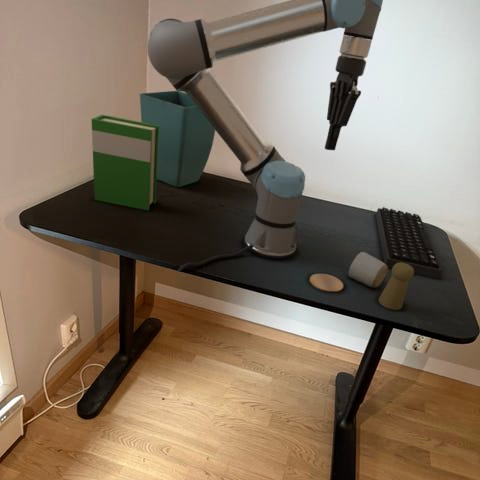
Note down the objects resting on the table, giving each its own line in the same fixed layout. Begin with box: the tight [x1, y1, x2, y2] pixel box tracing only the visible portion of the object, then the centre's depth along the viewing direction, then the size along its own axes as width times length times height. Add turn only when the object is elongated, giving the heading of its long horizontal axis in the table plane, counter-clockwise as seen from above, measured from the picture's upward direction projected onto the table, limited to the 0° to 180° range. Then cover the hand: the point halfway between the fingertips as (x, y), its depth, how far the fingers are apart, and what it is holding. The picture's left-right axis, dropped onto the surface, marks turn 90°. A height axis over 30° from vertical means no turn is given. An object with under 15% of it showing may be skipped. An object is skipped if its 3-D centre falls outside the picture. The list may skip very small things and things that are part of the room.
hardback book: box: [91, 114, 159, 211], centre depth 139 cm, size 18×7×24 cm, turn 81°
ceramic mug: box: [348, 251, 389, 289], centre depth 122 cm, size 11×8×8 cm
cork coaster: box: [309, 273, 344, 293], centre depth 119 cm, size 9×9×1 cm
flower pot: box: [139, 90, 216, 188], centre depth 161 cm, size 20×20×28 cm
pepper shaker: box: [378, 263, 415, 311], centre depth 113 cm, size 6×6×11 cm
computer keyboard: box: [375, 206, 443, 280], centre depth 150 cm, size 45×16×4 cm, turn 169°
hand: (329, 149), depth 131 cm, fingers closed
